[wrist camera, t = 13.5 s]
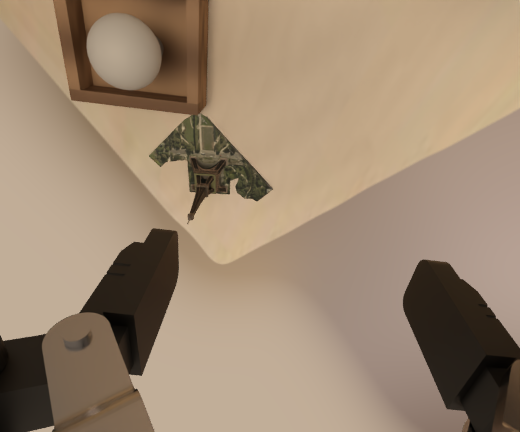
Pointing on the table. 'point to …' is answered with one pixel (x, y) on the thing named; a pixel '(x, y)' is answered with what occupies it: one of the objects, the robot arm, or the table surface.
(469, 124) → the table surface
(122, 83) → the lightbulb
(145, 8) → the wooden tray
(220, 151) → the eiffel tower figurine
